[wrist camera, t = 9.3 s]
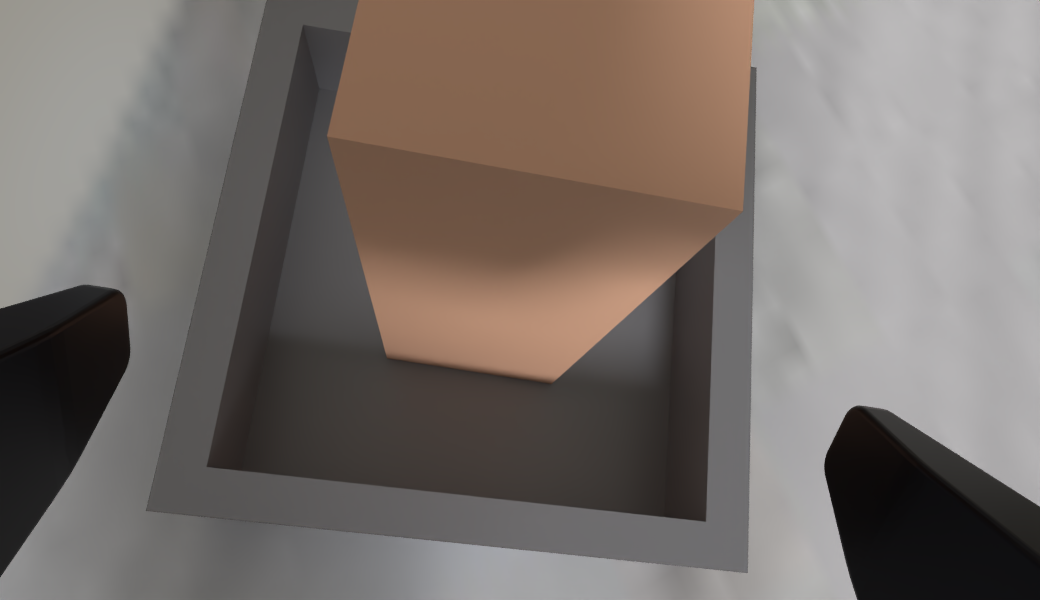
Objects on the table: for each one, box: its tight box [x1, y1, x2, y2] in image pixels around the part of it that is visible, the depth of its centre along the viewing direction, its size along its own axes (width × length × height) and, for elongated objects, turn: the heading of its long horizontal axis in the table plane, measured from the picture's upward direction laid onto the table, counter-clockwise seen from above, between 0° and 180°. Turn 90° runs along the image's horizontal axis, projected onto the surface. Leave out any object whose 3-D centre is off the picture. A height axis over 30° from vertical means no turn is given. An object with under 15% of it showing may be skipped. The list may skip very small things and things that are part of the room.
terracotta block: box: [327, 0, 754, 384], centre depth 14 cm, size 4×4×12 cm
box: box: [146, 0, 756, 573], centre depth 19 cm, size 13×13×4 cm
